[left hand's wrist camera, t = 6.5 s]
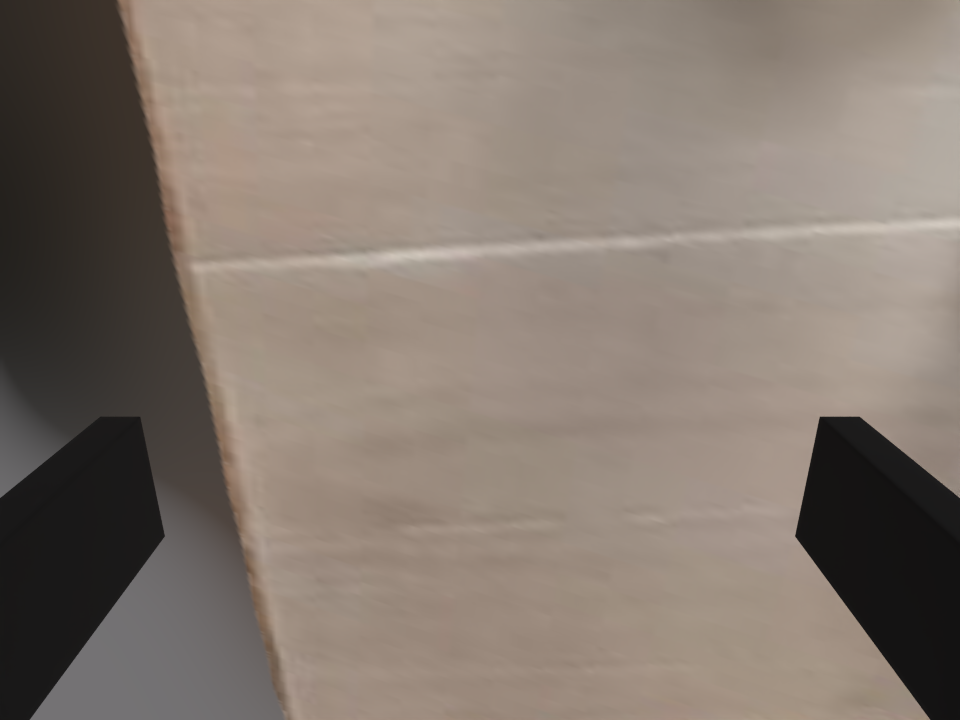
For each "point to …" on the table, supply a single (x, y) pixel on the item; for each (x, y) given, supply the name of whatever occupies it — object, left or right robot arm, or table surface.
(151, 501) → the left robot arm
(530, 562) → the table surface
